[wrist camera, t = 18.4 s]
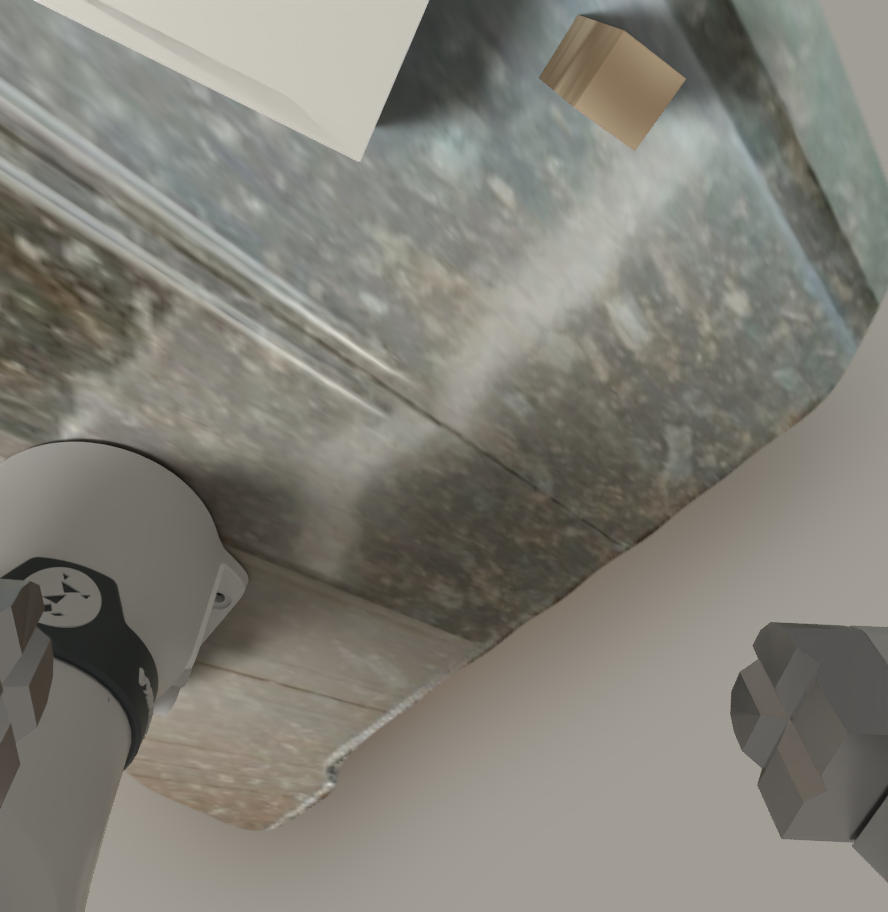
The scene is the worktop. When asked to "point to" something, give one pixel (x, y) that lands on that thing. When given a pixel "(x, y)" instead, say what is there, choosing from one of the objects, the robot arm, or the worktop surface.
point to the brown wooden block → (611, 79)
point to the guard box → (273, 54)
